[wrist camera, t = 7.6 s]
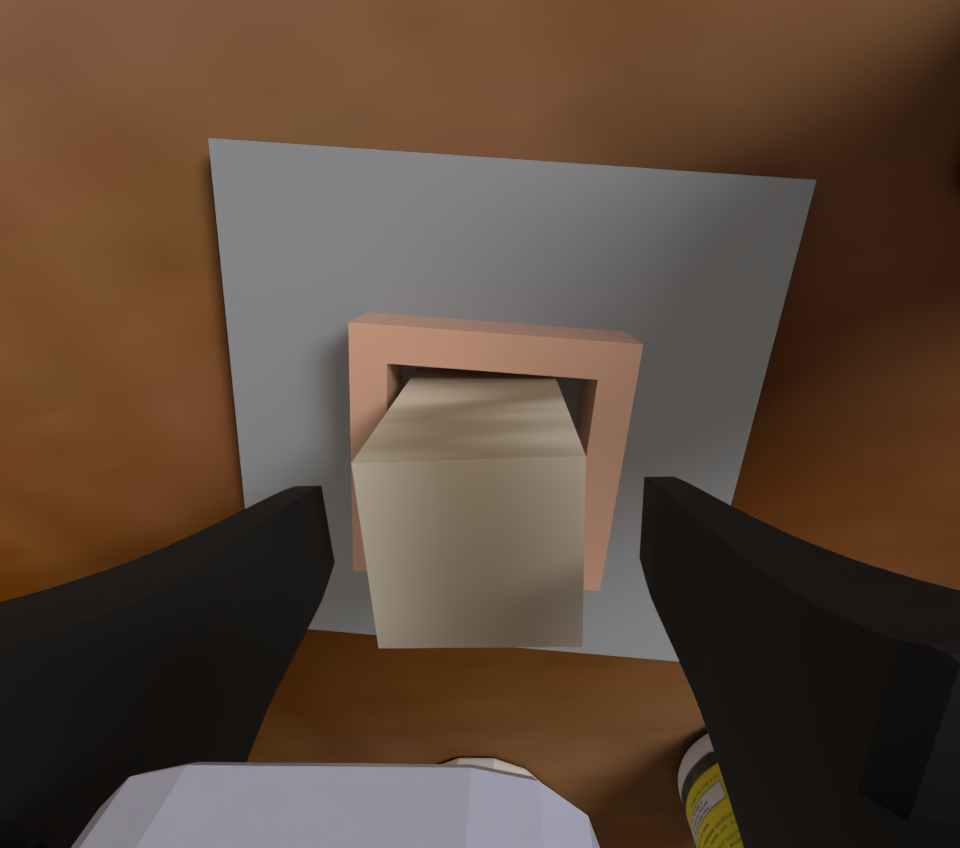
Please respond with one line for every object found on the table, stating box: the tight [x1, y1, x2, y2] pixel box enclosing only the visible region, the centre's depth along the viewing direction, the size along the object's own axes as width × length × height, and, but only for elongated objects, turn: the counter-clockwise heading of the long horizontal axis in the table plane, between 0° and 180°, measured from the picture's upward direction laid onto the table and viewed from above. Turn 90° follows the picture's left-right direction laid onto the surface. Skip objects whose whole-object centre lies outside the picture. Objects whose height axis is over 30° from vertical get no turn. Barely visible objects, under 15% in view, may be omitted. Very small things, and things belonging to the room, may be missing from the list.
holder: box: [208, 138, 816, 661], centre depth 15 cm, size 16×16×3 cm
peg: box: [351, 368, 586, 648], centre depth 13 cm, size 4×4×7 cm
